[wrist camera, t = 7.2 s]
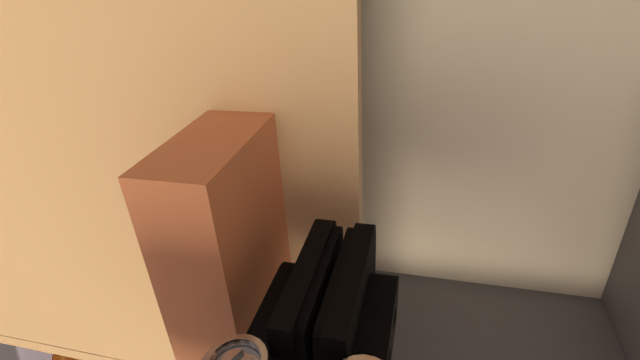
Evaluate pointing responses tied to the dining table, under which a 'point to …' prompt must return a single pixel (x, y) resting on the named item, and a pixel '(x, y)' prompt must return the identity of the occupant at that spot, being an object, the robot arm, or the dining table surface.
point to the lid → (167, 164)
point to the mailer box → (505, 175)
